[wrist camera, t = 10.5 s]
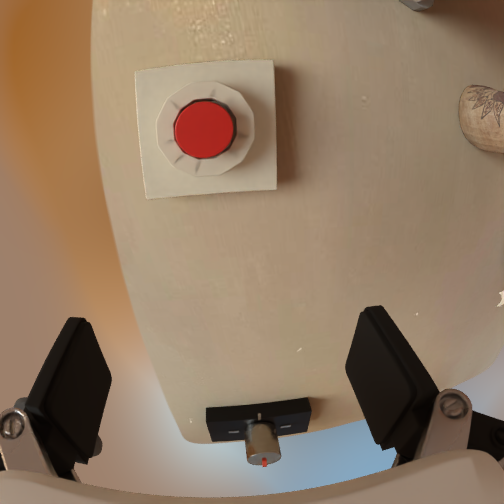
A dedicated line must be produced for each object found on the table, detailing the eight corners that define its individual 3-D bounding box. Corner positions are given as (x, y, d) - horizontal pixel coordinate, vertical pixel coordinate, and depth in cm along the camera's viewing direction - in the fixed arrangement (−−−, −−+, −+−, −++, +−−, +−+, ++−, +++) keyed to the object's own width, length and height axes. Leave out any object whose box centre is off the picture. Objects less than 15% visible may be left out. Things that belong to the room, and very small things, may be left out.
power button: (180, 156, 19) (177, 160, 18) (176, 105, 18) (172, 104, 16) (233, 152, 20) (234, 155, 18) (231, 100, 18) (232, 99, 16)
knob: (242, 423, 35) (246, 456, 30) (275, 419, 35) (282, 452, 31) (244, 437, 37) (248, 468, 32) (275, 434, 37) (281, 464, 33)
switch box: (152, 193, 24) (140, 207, 20) (141, 74, 19) (127, 67, 16) (272, 183, 24) (282, 196, 21) (269, 64, 20) (278, 54, 16)
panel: (212, 432, 40) (213, 446, 37) (204, 402, 36) (204, 418, 34) (303, 422, 41) (306, 436, 38) (308, 391, 37) (313, 406, 35)
